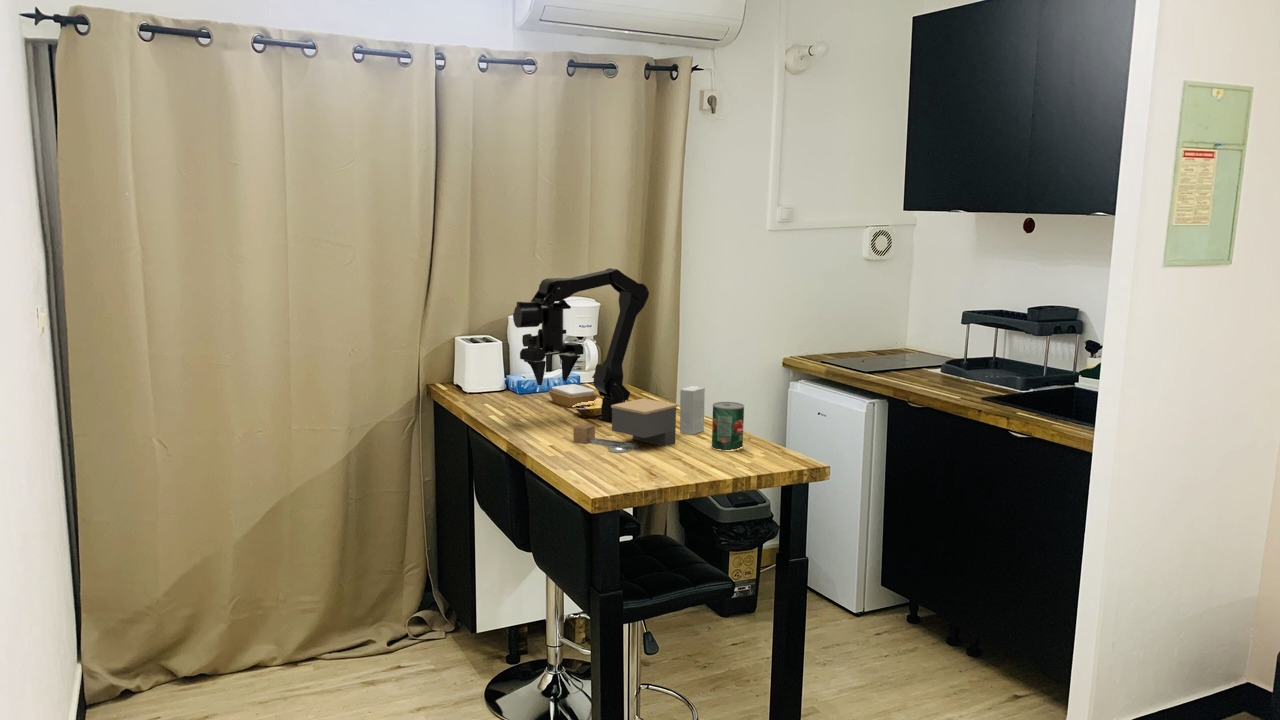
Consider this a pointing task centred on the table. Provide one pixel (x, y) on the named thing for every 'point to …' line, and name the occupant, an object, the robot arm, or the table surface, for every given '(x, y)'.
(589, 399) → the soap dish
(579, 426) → the brown block with rod
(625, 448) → the token
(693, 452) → the table surface
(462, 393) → the table surface
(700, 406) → the skincare box
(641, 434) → the cabinet
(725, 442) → the canned tomato
